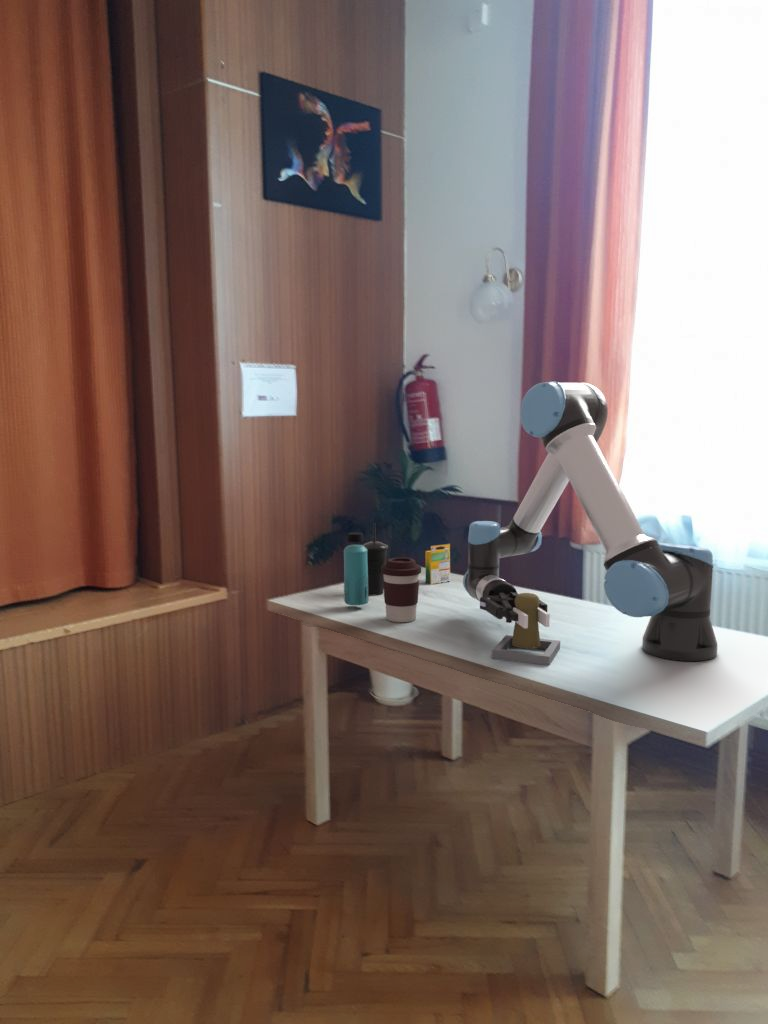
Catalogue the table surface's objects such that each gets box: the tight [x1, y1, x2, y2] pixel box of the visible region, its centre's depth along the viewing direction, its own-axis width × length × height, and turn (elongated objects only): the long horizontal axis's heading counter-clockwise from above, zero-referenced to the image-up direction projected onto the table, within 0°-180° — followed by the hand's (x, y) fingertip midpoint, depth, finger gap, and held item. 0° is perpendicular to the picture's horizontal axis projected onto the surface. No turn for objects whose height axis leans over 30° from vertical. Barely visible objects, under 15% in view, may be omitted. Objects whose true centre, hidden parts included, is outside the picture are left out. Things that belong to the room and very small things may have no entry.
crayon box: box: [424, 543, 451, 585], centre depth 239 cm, size 7×3×12 cm, turn 122°
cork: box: [511, 592, 541, 649], centre depth 170 cm, size 6×6×11 cm
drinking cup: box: [362, 522, 389, 596], centre depth 225 cm, size 8×8×20 cm
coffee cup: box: [381, 557, 422, 623], centre depth 198 cm, size 10×10×15 cm
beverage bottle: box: [343, 532, 370, 606], centre depth 209 cm, size 6×7×20 cm
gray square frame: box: [491, 634, 561, 666], centre depth 171 cm, size 12×12×2 cm
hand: (536, 621), depth 164 cm, fingers closed on cork, 4 cm apart
